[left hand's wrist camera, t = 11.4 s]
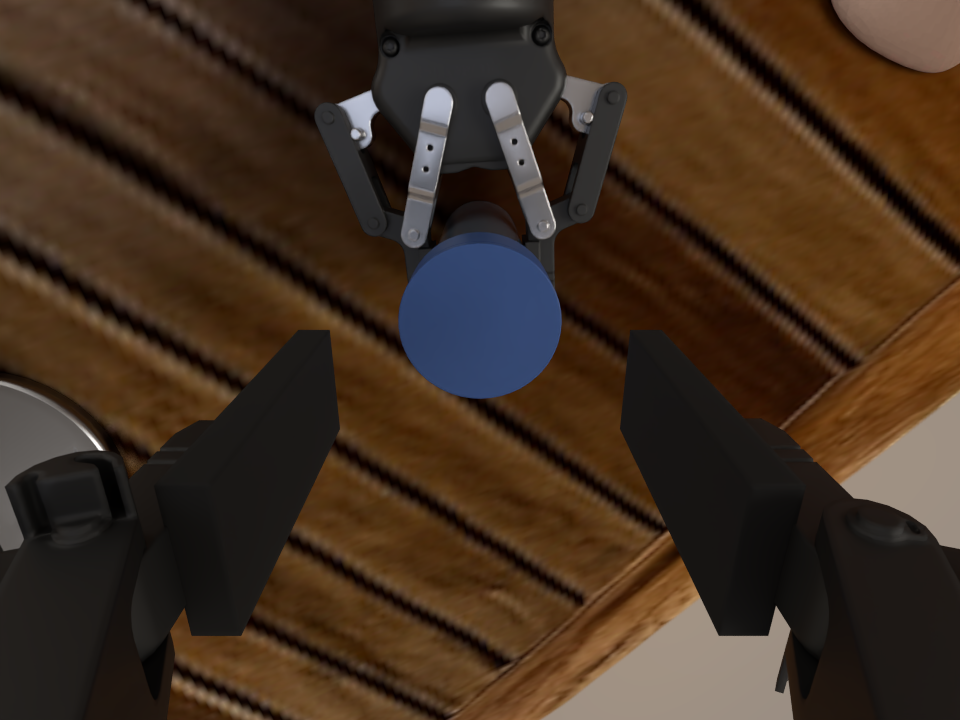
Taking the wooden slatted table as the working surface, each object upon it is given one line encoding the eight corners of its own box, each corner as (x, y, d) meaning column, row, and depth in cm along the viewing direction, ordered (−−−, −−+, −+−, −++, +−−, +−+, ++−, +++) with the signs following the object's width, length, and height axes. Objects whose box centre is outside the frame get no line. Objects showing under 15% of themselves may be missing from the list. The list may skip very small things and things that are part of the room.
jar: (478, 184, 32) (477, 225, 18) (532, 237, 33) (573, 318, 19) (427, 240, 33) (386, 323, 19) (481, 290, 35) (482, 405, 20)
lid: (477, 198, 19) (476, 206, 17) (583, 303, 20) (595, 322, 18) (376, 308, 20) (364, 328, 18) (482, 399, 22) (482, 427, 20)
